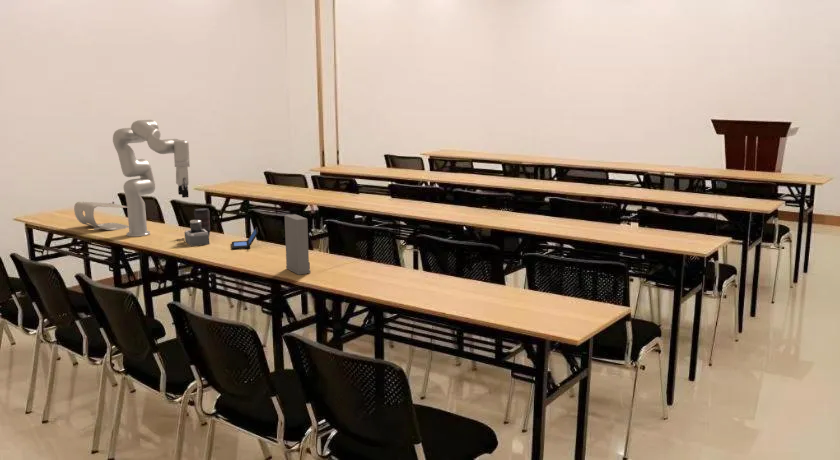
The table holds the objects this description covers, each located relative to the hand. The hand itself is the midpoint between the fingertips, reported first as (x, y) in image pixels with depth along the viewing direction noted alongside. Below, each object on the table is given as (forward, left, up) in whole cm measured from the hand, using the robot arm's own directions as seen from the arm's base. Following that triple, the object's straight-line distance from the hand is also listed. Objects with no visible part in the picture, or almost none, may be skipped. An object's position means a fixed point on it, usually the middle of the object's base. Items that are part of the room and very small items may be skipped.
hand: (183, 195), depth 383 cm
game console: (+25, +25, -26) cm, 44 cm away
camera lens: (-14, +12, -25) cm, 31 cm away
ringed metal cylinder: (+4, +5, -20) cm, 21 cm away
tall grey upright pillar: (+89, +33, -26) cm, 98 cm away
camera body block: (+4, +5, -25) cm, 26 cm away
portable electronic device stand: (-67, -35, -26) cm, 79 cm away
